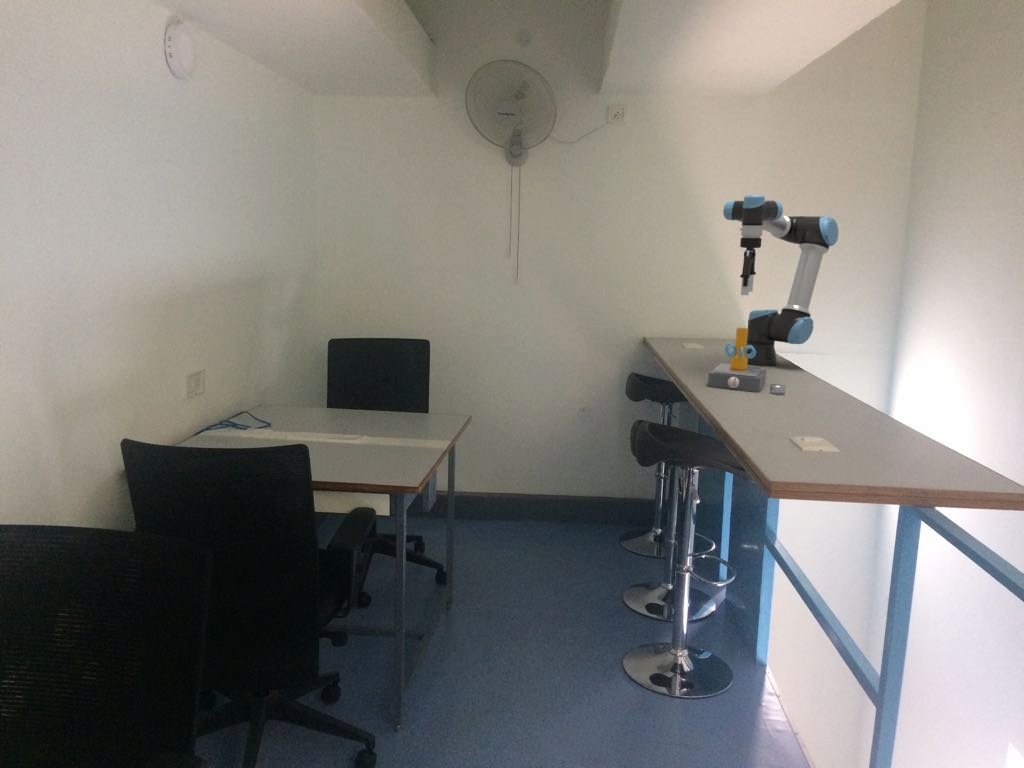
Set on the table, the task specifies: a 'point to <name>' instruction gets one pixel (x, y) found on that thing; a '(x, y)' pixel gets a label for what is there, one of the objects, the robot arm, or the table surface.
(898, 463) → the table surface
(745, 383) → the base
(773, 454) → the table surface
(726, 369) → the pan
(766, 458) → the table surface
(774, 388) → the cylinder
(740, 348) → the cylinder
